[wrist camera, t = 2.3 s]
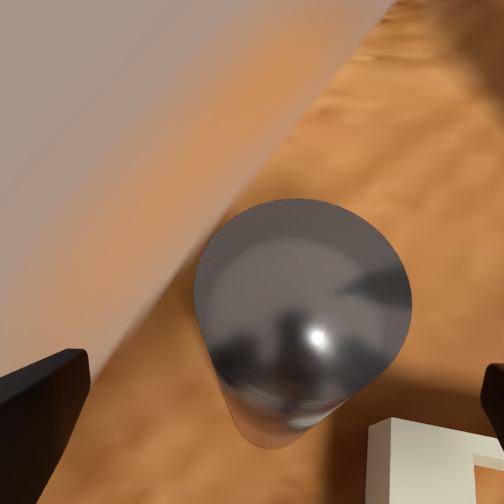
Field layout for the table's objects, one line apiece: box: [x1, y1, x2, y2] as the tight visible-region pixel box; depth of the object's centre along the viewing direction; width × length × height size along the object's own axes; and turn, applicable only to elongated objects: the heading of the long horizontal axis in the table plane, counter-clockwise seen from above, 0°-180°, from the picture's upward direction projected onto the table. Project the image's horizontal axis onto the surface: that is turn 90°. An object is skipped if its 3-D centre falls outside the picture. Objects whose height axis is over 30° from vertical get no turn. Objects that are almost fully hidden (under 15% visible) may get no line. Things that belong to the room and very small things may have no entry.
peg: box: [193, 199, 412, 449], centre depth 11 cm, size 3×3×12 cm
